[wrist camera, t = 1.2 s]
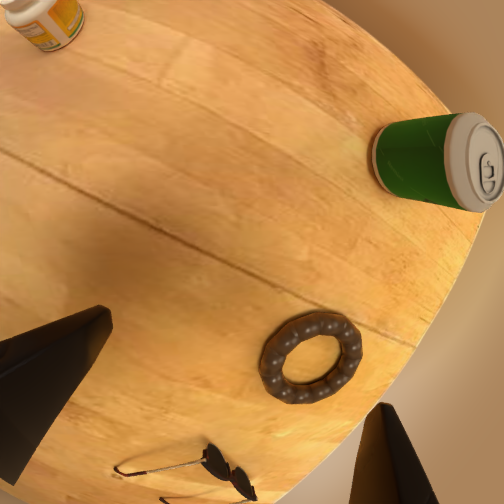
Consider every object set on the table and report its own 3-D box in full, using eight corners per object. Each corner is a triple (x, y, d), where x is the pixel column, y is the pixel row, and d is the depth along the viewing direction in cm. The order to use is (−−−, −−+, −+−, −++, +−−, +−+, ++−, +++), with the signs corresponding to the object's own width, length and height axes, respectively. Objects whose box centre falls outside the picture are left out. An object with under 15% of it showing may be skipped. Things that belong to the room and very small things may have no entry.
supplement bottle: (45, 62, 18) (-7, 26, 9) (31, 30, 16) (-15, -9, 7) (93, 27, 18) (58, -26, 9) (76, -3, 16) (44, -54, 7)
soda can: (370, 200, 27) (463, 222, 16) (360, 123, 25) (454, 105, 14) (424, 192, 28) (512, 209, 17) (416, 123, 26) (506, 116, 15)
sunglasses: (253, 476, 35) (258, 502, 30) (165, 497, 35) (165, 520, 30) (203, 431, 30) (205, 464, 26) (107, 456, 30) (101, 483, 26)
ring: (334, 395, 33) (342, 406, 31) (247, 393, 30) (250, 407, 28) (370, 315, 30) (380, 323, 28) (275, 302, 28) (282, 312, 26)
